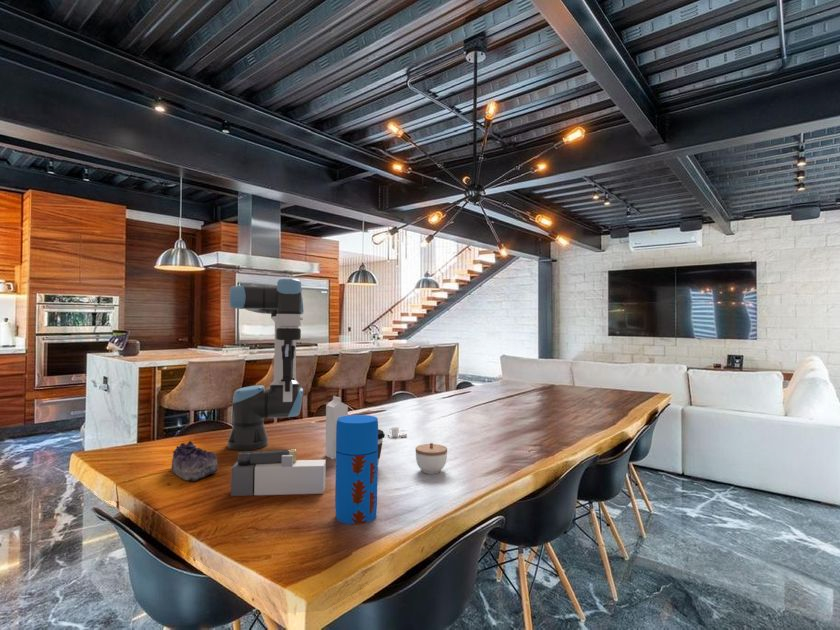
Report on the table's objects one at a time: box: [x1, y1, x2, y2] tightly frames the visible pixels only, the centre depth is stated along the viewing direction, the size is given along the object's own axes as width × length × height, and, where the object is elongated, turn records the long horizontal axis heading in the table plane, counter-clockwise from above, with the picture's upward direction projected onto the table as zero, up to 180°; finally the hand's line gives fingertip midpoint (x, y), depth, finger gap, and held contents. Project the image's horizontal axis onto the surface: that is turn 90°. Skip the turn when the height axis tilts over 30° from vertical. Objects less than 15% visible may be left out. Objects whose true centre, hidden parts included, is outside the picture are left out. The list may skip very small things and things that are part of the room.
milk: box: [325, 395, 349, 460], centre depth 172 cm, size 6×6×22 cm
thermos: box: [334, 414, 379, 525], centre depth 120 cm, size 11×11×25 cm
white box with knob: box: [230, 455, 327, 497], centre depth 137 cm, size 6×26×11 cm, turn 96°
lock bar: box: [237, 448, 297, 465], centre depth 137 cm, size 4×16×3 cm, turn 104°
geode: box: [170, 440, 219, 482], centre depth 152 cm, size 20×12×10 cm, turn 51°
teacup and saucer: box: [388, 426, 408, 438], centre depth 202 cm, size 9×8×4 cm
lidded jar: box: [415, 442, 448, 475], centre depth 157 cm, size 11×11×9 cm
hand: (287, 401), depth 148 cm, fingers closed
